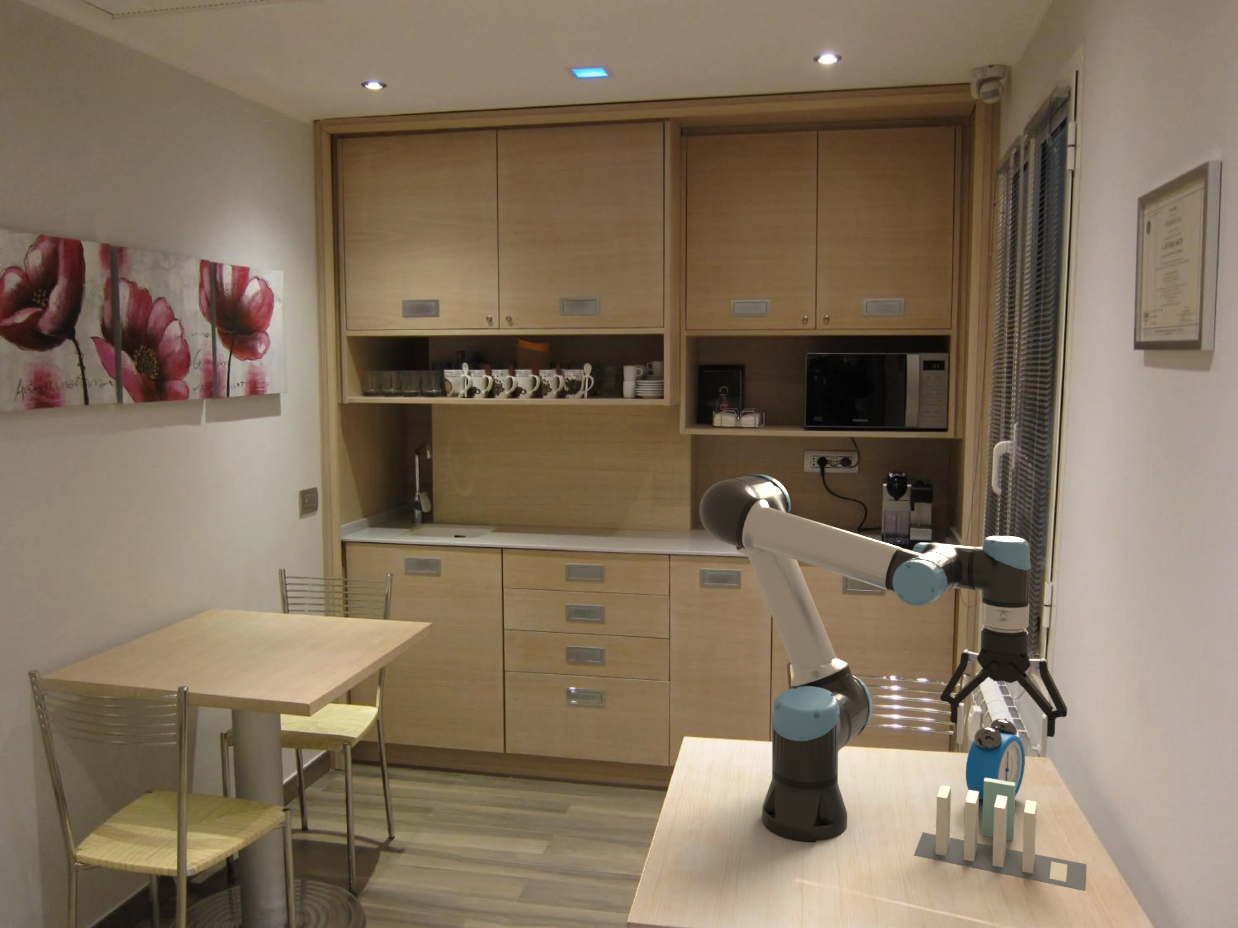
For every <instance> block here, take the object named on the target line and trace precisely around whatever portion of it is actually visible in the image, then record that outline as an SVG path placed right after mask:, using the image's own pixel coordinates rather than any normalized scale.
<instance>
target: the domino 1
mask: <svg viewBox="0 0 1238 928" xmlns="http://www.w3.org/2000/svg"><path fill="white" fill-rule="evenodd" d="M951 794H952V786H948V785H940V788H939V790H938V793H937V795H936V815H935V817H936V819H935V821H936V822H935V823H936V825H935V835H936V854H939V855H944V856H946V853H947V849H948V846H949V843H950V838H951V808H952V807H951V804H952V803H951V801H952V799H951V798H952V795H951Z"/></svg>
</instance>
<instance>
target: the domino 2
mask: <svg viewBox="0 0 1238 928" xmlns="http://www.w3.org/2000/svg"><path fill="white" fill-rule="evenodd" d="M966 794H967V795H966V797H965V798H966V799H965V801H964V828H963V829H964V832H963V833H964V835H963V840H964V860H968V861H973V862H974V859H975V855H976V851H977V843H978V842H979V841H978V837H979V834H978V833H979V831H978V830H979V801H980V799H979V792H978V791H972V790H968V791H967V793H966Z"/></svg>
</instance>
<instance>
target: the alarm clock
mask: <svg viewBox="0 0 1238 928" xmlns="http://www.w3.org/2000/svg"><path fill="white" fill-rule="evenodd" d="M1017 735H1018V728H1017V727H1016V725H1015V724H1014V723H1013V722H1012V721H1010V720H1007V718H996V719H994V720H992V721H991V723H990V725H989V726H984V727H980V728H978V730H976V732H975V734H974V735H973V736H974V737H973V741H972V743H971V745H970V746H969V747H970V748H969V750H968V754H967V759H966V764H965V765H966V766H965V783H966V787H967V790H968V791H969V790H972V791H978V792H979V800H982V801H983V790H984V778H991V779H997V780H1003V781H1009V782H1015V798H1016V797H1017V796H1018V793H1019V791H1020V788H1021V785H1022V783H1023V779H1024V775H1025V774H1024V773H1025V765H1026V752H1025V748H1024V744H1023V742H1022V740H1021V738H1020V737H1019V736H1017Z"/></svg>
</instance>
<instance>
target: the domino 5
mask: <svg viewBox="0 0 1238 928" xmlns="http://www.w3.org/2000/svg"><path fill="white" fill-rule="evenodd" d="M1036 828H1037V800H1036V801H1035V800H1029V799H1026V800H1025V804H1024V811H1023V834H1022V835H1023V837H1022V852H1023V860H1022V872H1027V873H1032V874H1033V869H1034V861H1035V854H1036V833H1037V829H1036Z"/></svg>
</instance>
